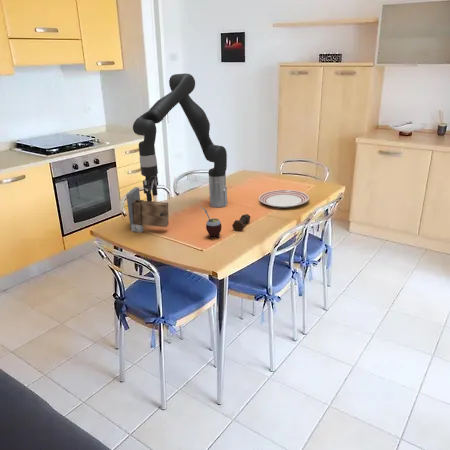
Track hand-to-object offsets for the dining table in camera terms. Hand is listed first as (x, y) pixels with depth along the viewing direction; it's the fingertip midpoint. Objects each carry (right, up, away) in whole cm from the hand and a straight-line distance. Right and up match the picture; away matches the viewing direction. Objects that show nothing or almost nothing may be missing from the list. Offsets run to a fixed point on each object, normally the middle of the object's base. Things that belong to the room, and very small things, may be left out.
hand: (152, 198), depth 200 cm
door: (-2, -12, +5) cm, 13 cm away
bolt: (+43, -13, +9) cm, 46 cm away
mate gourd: (+29, -18, -3) cm, 34 cm away
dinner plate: (+67, 0, +39) cm, 77 cm away
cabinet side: (-8, -13, +13) cm, 20 cm away
